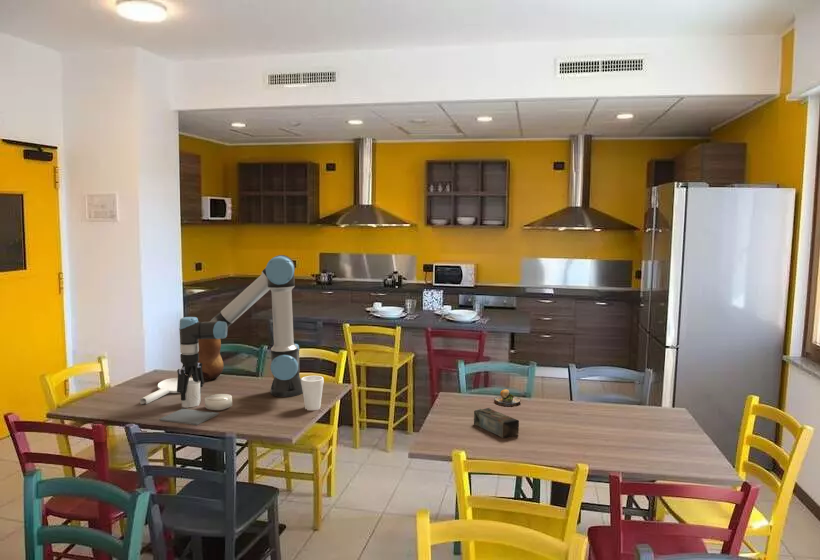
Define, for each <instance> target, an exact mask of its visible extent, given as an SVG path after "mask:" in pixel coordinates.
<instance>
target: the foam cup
mask: <svg viewBox="0 0 820 560" xmlns="http://www.w3.org/2000/svg"><path fill="white" fill-rule="evenodd" d="M300 378H301V385H302V390H303V393H302V396H303V402H304V409H305V410H306V409H307V411H317V410H320V409H321V404H322V397H323V389H324V388H323V387H324V382H325V381H324V380H325V379H324V377H323V376H321V375H308V376H306V375H305V376H303V377H300Z"/></svg>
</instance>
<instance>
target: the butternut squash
mask: <svg viewBox="0 0 820 560" xmlns="http://www.w3.org/2000/svg"><path fill="white" fill-rule="evenodd" d="M221 341H222V339H198V343H199V352H198V353H199V361H198V362H197V363H202V372H203V379H206V380H211V381H213V380H214V379H216V378H218V377H219V376H220V375H222V372H223V370H224V365H225V364H224V361H223V358H222V355H221V349H222V342H221Z"/></svg>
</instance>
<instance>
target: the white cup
mask: <svg viewBox="0 0 820 560" xmlns="http://www.w3.org/2000/svg"><path fill="white" fill-rule="evenodd" d="M186 392H188V408H195V407H198V406H200V403H201V402H200V399H201V393H200V381H198V382H195V381H193V380H190V381H189V382H188V385H187V391H186Z"/></svg>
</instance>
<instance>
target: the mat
mask: <svg viewBox="0 0 820 560" xmlns="http://www.w3.org/2000/svg"><path fill="white" fill-rule="evenodd" d="M219 414H220V412H217V411H216V412H215V411H214V412H213V411H205V410H198V409H197V410H196V409H188V408H181V409H178V410H176V411H174V412H172V413H170V414H167V415H165V416H163V417H160V418H159V421H160V422H170V423H175V424H176V423H177V424H186V425H193V426H198V425H200V424H202V423H204V422H207V421H208V420H210V419H213V418H215V417H216V416H218V415H219Z"/></svg>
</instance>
